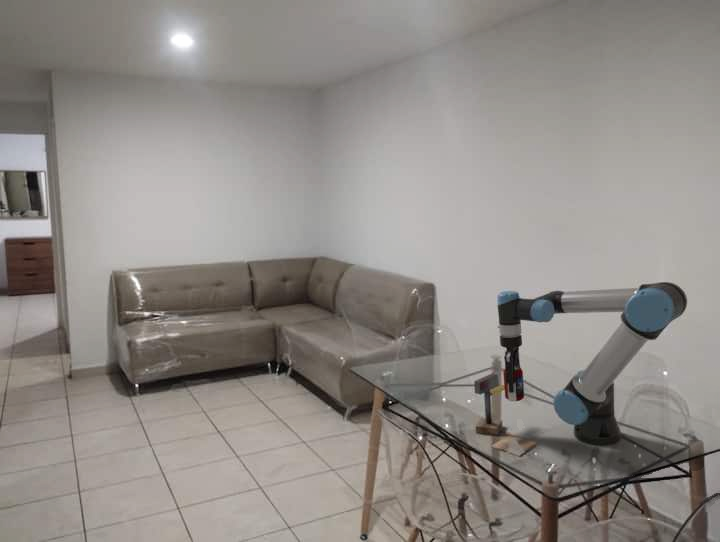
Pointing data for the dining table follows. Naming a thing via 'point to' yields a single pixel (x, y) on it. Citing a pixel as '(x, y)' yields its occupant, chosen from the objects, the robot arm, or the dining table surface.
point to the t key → (488, 391)
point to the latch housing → (489, 426)
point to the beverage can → (518, 383)
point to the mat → (503, 443)
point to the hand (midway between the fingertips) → (514, 396)
